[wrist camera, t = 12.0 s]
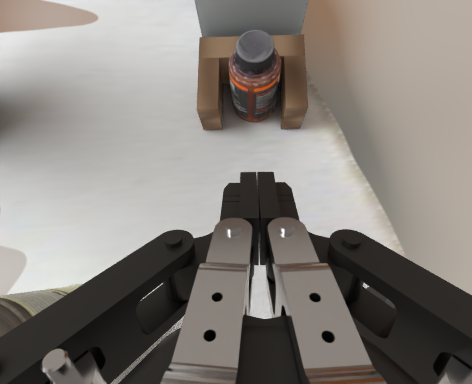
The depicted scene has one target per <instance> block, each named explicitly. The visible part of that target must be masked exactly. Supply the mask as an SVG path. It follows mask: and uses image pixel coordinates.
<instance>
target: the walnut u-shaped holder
mask: <svg viewBox="0 0 472 384" xmlns="http://www.w3.org/2000/svg"><path fill="white" fill-rule="evenodd" d="M270 36H271V37H272V39H273V41H274V48H275V49H276V50H277V52H278V54H279V56H280V60H281V70H280V77H279V83H280V111H281V129H297V128H300V126H301V124H302V121H303V119H304V116H305V113H306V111H307V108H308V102H307V84H306V67H305V49H304V35H270ZM239 37H240V36H233V37H200V43H199V68H198V92H197V111H198V114H199V117H200V120H201V123H202V126H203V129H204V130H220V129H222V104H223V84H230V76H229V59H230V56H231V54H232V53H233V51H234V50H235V49H236V43H237V40H238V39H239Z"/></svg>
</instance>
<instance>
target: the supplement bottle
mask: <svg viewBox="0 0 472 384" xmlns="http://www.w3.org/2000/svg"><path fill="white" fill-rule="evenodd" d="M280 70H281V60H280V56H279V54H278V52H277V50H276V49H275V48H274V41H273V39H272V37H271V36H270V35H269V34H268V33H266V32H264V31H261V30H250V31H247V32H245V33H244V34H242V35H241V36H240V37H239V39H238V40H237V43H236V49H235V50H234V51H233V53H232V54H231V56H230V59H229V76H230V84H231V93H232V102H233V107H234V110H235V111H236V113H237V114H238V115H239V116H240V117H241V118H243V119H245V120H248V121H260V120H263V119H265V118H266V117H268V116H269V115H270V114H271V113H272V111H273V109H274V107H275V103H276V97H277V90H278V83H279V77H280Z"/></svg>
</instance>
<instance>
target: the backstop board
mask: <svg viewBox="0 0 472 384" xmlns="http://www.w3.org/2000/svg"><path fill="white" fill-rule="evenodd" d="M195 4H196V9H197V14H198V18H199V23H200V28H201V33H202V37H233V36H241V35H242V34H244V33H245V32H247V31H250V30H261V31H264V32H266V33H268V34H269V35H301V30H302V26H303V22H304V17H305V13H306V9H307V4H308V0H195Z"/></svg>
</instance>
